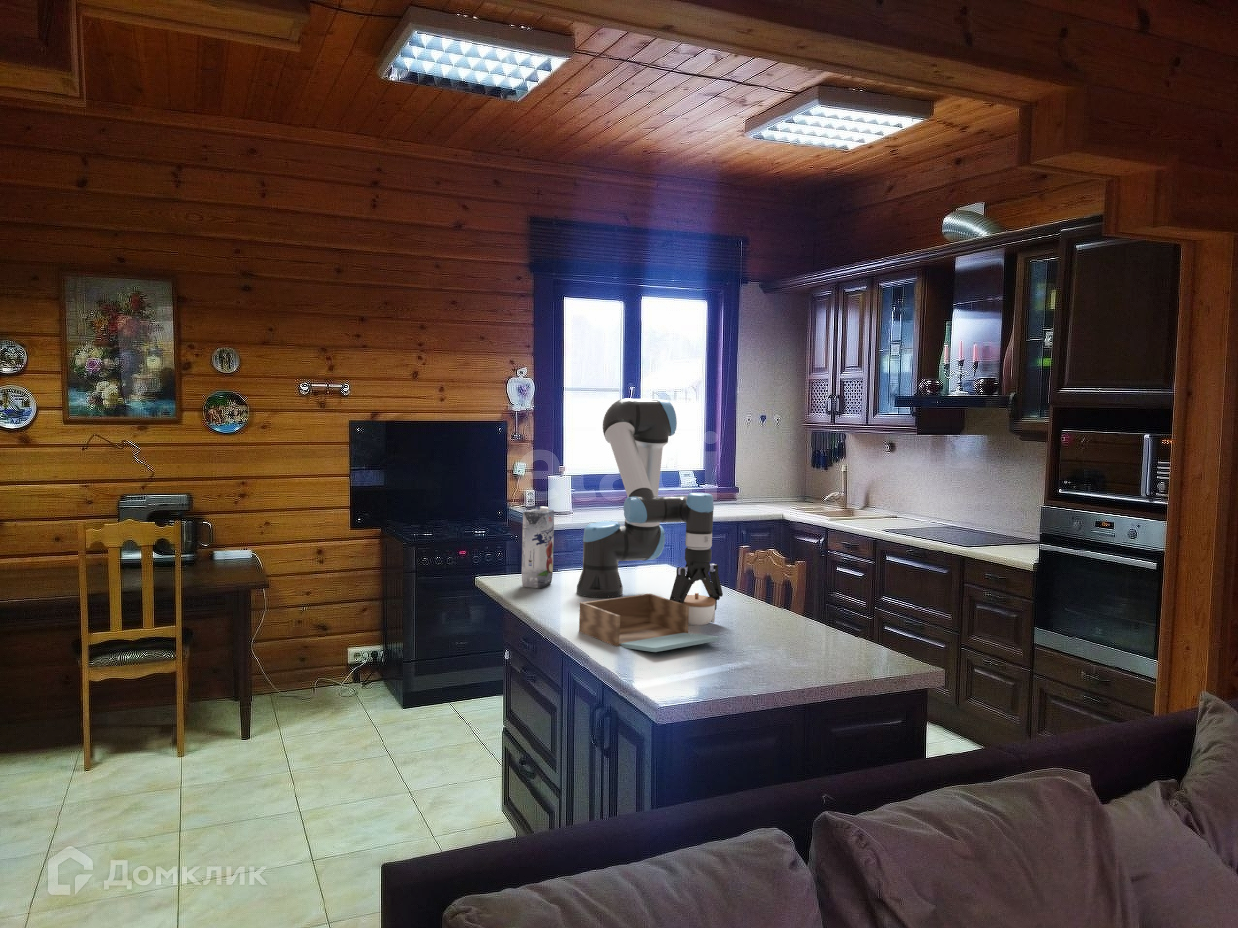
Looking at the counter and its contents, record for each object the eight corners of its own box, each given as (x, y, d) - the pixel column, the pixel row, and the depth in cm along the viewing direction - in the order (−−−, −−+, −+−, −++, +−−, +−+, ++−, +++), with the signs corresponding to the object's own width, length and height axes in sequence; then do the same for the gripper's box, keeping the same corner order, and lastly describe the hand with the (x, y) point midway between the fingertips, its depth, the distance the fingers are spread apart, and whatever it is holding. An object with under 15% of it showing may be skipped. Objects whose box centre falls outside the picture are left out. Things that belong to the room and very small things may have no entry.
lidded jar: (720, 624, 258) (721, 592, 258) (704, 632, 249) (705, 599, 249) (687, 619, 264) (688, 587, 263) (670, 626, 255) (671, 593, 254)
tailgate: (618, 642, 230) (654, 647, 218) (681, 632, 242) (718, 636, 230) (618, 646, 230) (654, 652, 218) (681, 636, 242) (719, 640, 230)
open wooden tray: (578, 635, 242) (579, 602, 241) (649, 624, 256) (650, 593, 256) (615, 650, 228) (616, 616, 228) (687, 638, 242) (689, 605, 242)
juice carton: (518, 587, 301) (520, 507, 299) (530, 581, 311) (532, 503, 309) (543, 589, 298) (545, 508, 296) (554, 583, 308) (556, 505, 306)
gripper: (675, 552, 245) (672, 632, 247) (737, 546, 259) (734, 621, 260) (658, 548, 251) (655, 625, 253) (719, 542, 265) (716, 616, 266)
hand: (695, 623), depth 257 cm, fingers closed on lidded jar, 11 cm apart
